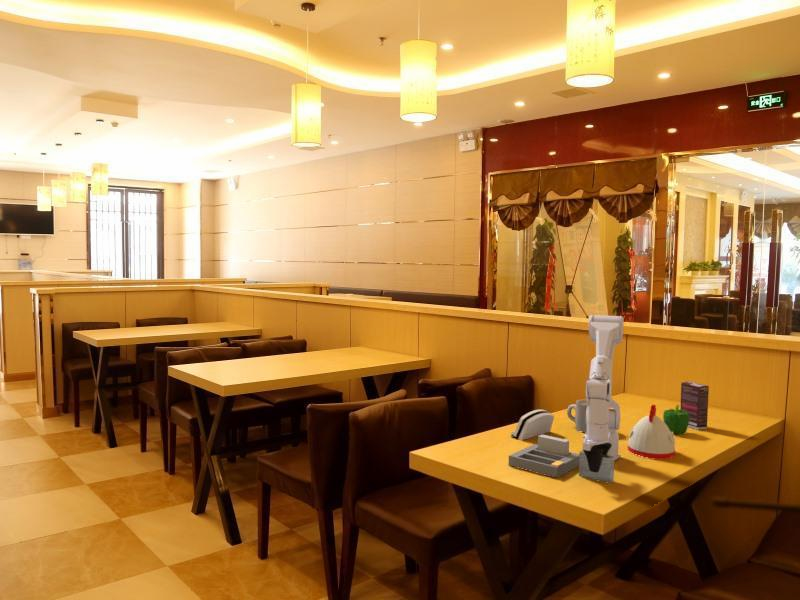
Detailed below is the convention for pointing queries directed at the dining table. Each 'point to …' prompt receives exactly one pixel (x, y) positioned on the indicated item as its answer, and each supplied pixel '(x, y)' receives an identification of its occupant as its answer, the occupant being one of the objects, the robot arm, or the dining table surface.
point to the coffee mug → (579, 414)
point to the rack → (546, 457)
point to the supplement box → (695, 404)
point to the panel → (604, 470)
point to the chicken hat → (652, 438)
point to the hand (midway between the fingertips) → (596, 470)
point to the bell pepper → (676, 420)
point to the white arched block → (533, 424)
